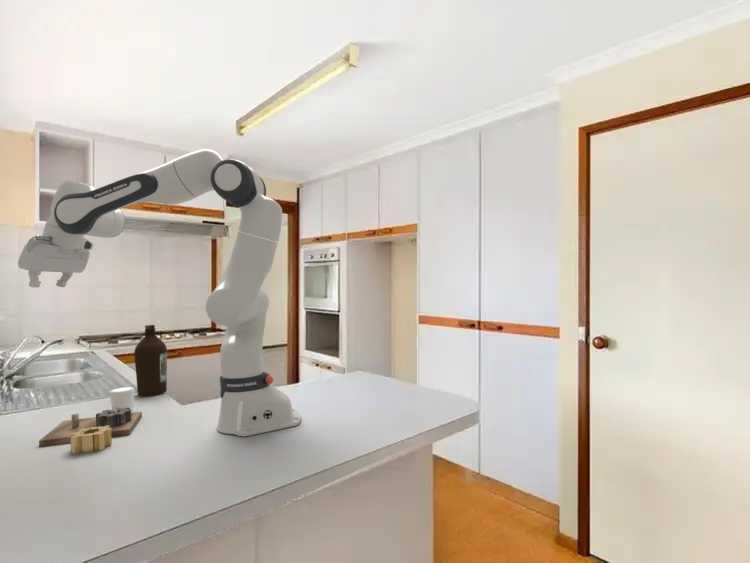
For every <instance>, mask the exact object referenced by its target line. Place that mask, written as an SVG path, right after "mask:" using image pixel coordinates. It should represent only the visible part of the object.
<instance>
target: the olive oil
mask: <svg viewBox="0 0 750 563" xmlns="http://www.w3.org/2000/svg"><path fill="white" fill-rule="evenodd" d="M144 327H145V329H144V337H143V338H142V339H141V340H140V341H139V342H138V343H137V345H136V346H135V349H134V354H133V355H134V363H135V364H134V365H135V366H134V367H135V376H136V387H137V388H136V389H137V396H139V397H155V396H160V395H162V394H165V393H166V392H167V390H168V388H167V383H168V382H167V374H168V372H167V370H168V369H167V368H168V362H167V361H168V348H167V345H166V344H165V342H164V341H163V340H162V339H160V338H159V337H158V336H157V335H156V328H155V327H156V325H155V324H145V326H144Z"/></svg>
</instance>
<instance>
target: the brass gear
mask: <svg viewBox="0 0 750 563" xmlns="http://www.w3.org/2000/svg"><path fill="white" fill-rule="evenodd" d="M70 437H71V443H70V451H71V454H72V455H78V454H85V453H92V452H97V451H99V452H101V451H103V450H105V449H106V447H110V446H112V445H113V437H112V428H110V426H108V425H107V426H104V427H92V428H87V429H85V428H83V429H80V430H79V432H76V433H72V434H71V435H70Z"/></svg>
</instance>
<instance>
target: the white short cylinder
mask: <svg viewBox="0 0 750 563" xmlns="http://www.w3.org/2000/svg"><path fill="white" fill-rule="evenodd" d="M108 392H109V397H110V398H109V399H110V405H111V410H112V409H115V408H119V407H120V408H126V407H128V408H130V409H131V412H133V410H134V401H135V387H134V386H123V387H117V388H112V389H110V390H109V391H108Z"/></svg>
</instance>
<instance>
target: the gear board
mask: <svg viewBox="0 0 750 563" xmlns="http://www.w3.org/2000/svg"><path fill="white" fill-rule="evenodd" d="M79 414H80V413H73V414H71V419H68V420H62V421H61V422H60V423H59V424H58V425H56V426H55V427H54V428H53V429H52V430H50V431H49V432H48V433H47V434H45V435H44V436H43V437H42V438H41V439H39V440H38V447H39V448H40V447H48V446H55V445H62V444H71V437H70V435H71V434H72V433H76V432H79V430H80V429H83V428H85V429H87V428H92V427H104V426H107V425H108V426H110V428H112V438H115V437H123V436H130V435H131V433H132V432H133V431H134V429H135V428H136V426H137V425H138V424H139V422H140V420H141V419H142V417H143V412H142V411H136V412H132V411H131V409H130V408H128V407H126V408H120V407H119V408H115V409H112V408H111V409H105V410H104V409H103V410H102V412H97V413H96V414H95V416H94V417H93V416H92V417H86V418H80V415H79Z"/></svg>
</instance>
